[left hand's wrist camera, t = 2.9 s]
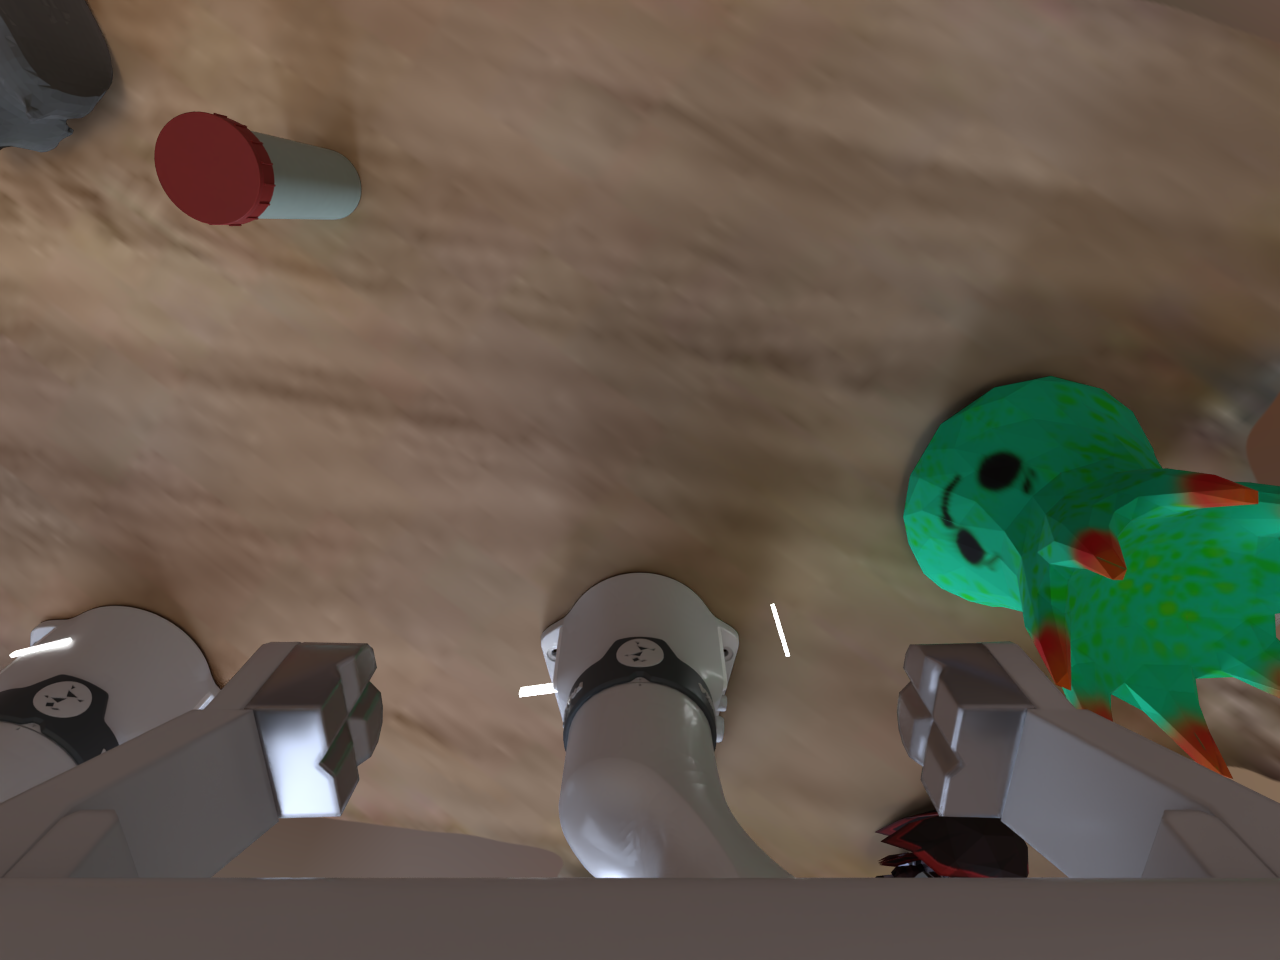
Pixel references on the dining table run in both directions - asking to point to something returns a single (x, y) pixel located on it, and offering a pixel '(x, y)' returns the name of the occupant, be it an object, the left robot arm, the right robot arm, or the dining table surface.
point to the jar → (309, 181)
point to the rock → (48, 70)
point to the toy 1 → (954, 848)
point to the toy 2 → (1102, 551)
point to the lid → (214, 169)
